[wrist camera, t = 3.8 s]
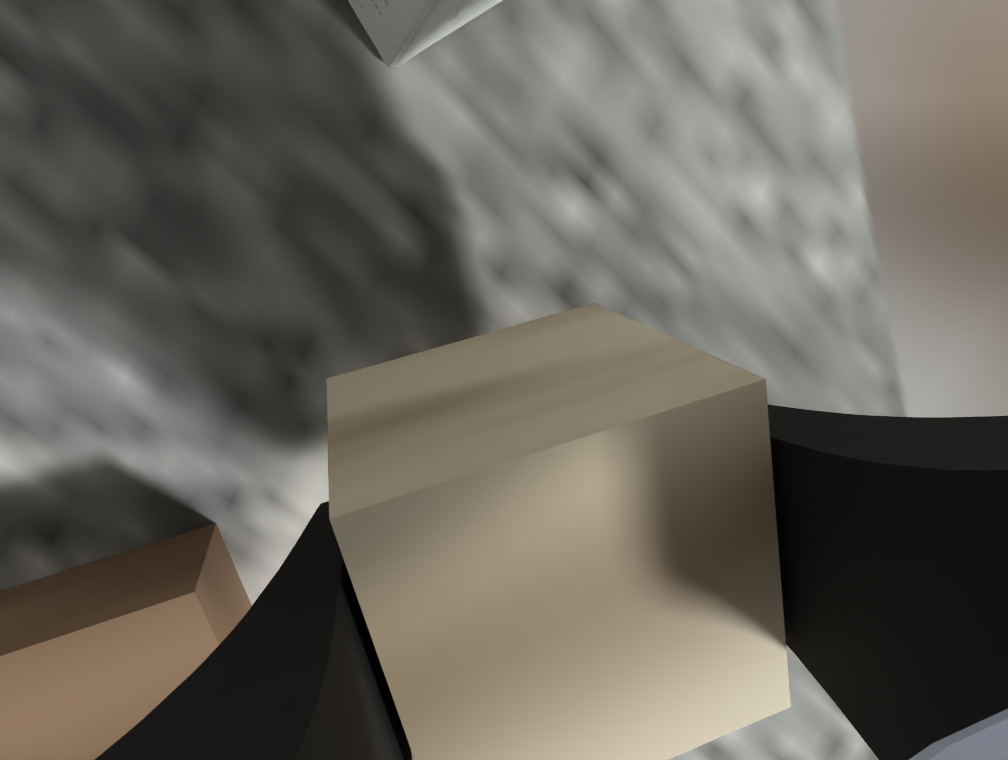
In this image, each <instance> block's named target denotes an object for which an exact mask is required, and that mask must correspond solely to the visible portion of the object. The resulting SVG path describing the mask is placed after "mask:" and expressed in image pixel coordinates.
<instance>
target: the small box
mask: <svg viewBox="0 0 1008 760" xmlns="http://www.w3.org/2000/svg"><path fill="white" fill-rule="evenodd" d="M348 1H349V3H350V5H351V7H352V8H353V10H354V12H355V13H356V15H357V17H358V19H359V20H360V22H361V24H362V25H363V27H364V28H365V30H366V32H367V33H368V35H369V37H370V38H371V40H372V42H373V43H374V45H375V47H376V48H377V50H378V52H379V54H380V55H381V57H382V59H383V61H384V62H385V63H386V65H387V66H388V67H389V68H392V69H394V68H397V67H399V66H400V65H402V64H403V63H405V62H406V61H407V60H409V59H410V58H412V57H413V56H415V55H416V54H418V53H420V52H421V51H423V50H424V49H426V48H427V47H429V46H431V45H432V44H434V43H435V42H437V41H439V40H440V39H442V38H443V37H445V36H447V35H448V34H450V33H452V32H453V31H455V30H456V29H458V28H460V27H461V26H463V25H464V24H466V23H467V22H469V21H470V20H472V19H474V18H475V17H477V16H478V15H480V14H482V13H483V12H485V11H486V10H488V9H490V8H491V7H493V6H494V5H496V4H498V3H499V2H501V1H502V0H348Z"/></svg>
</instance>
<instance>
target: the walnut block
mask: <svg viewBox="0 0 1008 760" xmlns="http://www.w3.org/2000/svg"><path fill="white" fill-rule="evenodd" d="M251 607H252V605H251V603H250V601H249V598H248V596H247V594H246V592H245V589H244V587H243V585H242V582H241V580H240V578H239V575H238V573H237V571H236V569H235V566H234V564H233V562H232V559H231V557H230V555H229V552H228V550H227V548H226V545H225V543H224V541H223V539H222V536H221V534H220V532H219V529H218V527H217V525H216V523H215V524H212V525H209V526H206V527H203V528H199V529H196V530H193V531H190V532H187V533H184V534H180V535H177V536H174V537H171V538H168V539H165V540H161V541H158V542H155V543H152V544H149V545H146V546H142V547H139V548H136V549H133V550H130V551H127V552H123V553H120V554H117V555H114V556H111V557H108V558H104V559H101V560H98V561H95V562H92V563H89V564H85V565H82V566H79V567H76V568H73V569H70V570H66V571H63V572H60V573H57V574H54V575H50V576H47V577H44V578H41V579H38V580H35V581H31V582H28V583H25V584H22V585H19V586H16V587H12V588H9V589H6V590H3V591H0V760H94V759H96V758H97V757H98V756H100V755H101V754H102V753H103V752H104V751H106V750H107V749H108V748H109V747H110V746H112V745H113V744H114V743H115V742H116V741H118V740H119V739H120V738H121V737H122V736H124V735H125V734H126V733H127V732H128V731H130V730H131V729H132V728H133V727H134V726H136V725H137V724H138V723H139V722H140V721H141V720H142V719H143V718H145V717H146V716H147V715H148V714H149V713H150V712H151V711H152V710H153V709H154V708H155V707H156V706H157V705H158V704H160V703H161V702H162V701H163V700H164V699H165V698H166V697H167V696H168V695H169V694H170V693H171V692H172V691H173V690H175V689H176V688H177V687H178V686H179V685H180V684H181V683H182V682H183V681H184V680H185V679H186V678H187V677H189V676H190V675H191V674H192V673H193V672H194V671H195V670H196V669H197V668H198V667H199V666H200V665H201V664H202V663H203V662H204V661H205V660H206V658H207V657H208V656H209V655H210V654H211V653H212V652H213V651H214V650H215V649H216V648H217V647H218V645H219V644H220V643H221V642H222V641H223V640H224V639H225V638H226V637H227V636H228V635H229V633H230V632H231V631H232V630H233V629H234V628H235V626H236V625H237V624H238V623H239V622H240V620H241V619H242V618H243V617H244V616H245V614H246V613H247V612H248V611H249V609H250V608H251Z"/></svg>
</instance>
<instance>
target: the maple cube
mask: <svg viewBox="0 0 1008 760" xmlns="http://www.w3.org/2000/svg"><path fill="white" fill-rule="evenodd" d="M327 427H328V477H329V519H330V522H331V525H332V528H333V531H334V533H335V536H336V539H337V542H338V545H339V548H340V550H341V553H342V556H343V559H344V562H345V564H346V567H347V570H348V573H349V576H350V579H351V581H352V584H353V587H354V590H355V593H356V596H357V598H358V601H359V604H360V607H361V610H362V612H363V615H364V618H365V621H366V624H367V627H368V629H369V632H370V635H371V638H372V641H373V644H374V646H375V649H376V652H377V655H378V658H379V660H380V663H381V666H382V669H383V672H384V675H385V677H386V680H387V683H388V686H389V689H390V692H391V694H392V697H393V700H394V703H395V706H396V708H397V711H398V714H399V717H400V720H401V723H402V725H403V728H404V731H405V734H406V737H407V740H408V742H409V745H410V748H411V751H412V754H413V756H414V759H415V760H668V759H670V758H673V757H675V756H677V755H680V754H682V753H684V752H687V751H689V750H691V749H694V748H696V747H698V746H701V745H703V744H705V743H708V742H710V741H712V740H715V739H717V738H719V737H722V736H724V735H726V734H729V733H731V732H733V731H736V730H738V729H740V728H743V727H745V726H747V725H750V724H752V723H754V722H757V721H759V720H761V719H764V718H766V717H768V716H771V715H773V714H775V713H778V712H780V711H782V710H785V709H787V708H789V707H791V706H790V692H789V679H788V666H787V653H786V640H785V627H784V614H783V601H782V588H781V575H780V562H779V548H778V535H777V522H776V509H775V496H774V483H773V470H772V457H771V444H770V431H769V418H768V404H767V391H766V379H765V378H762V377H760V376H758V375H756V374H753V373H751V372H749V371H747V370H744V369H742V368H740V367H738V366H735V365H733V364H731V363H729V362H726V361H724V360H722V359H720V358H717V357H715V356H713V355H711V354H708V353H706V352H704V351H702V350H699V349H697V348H695V347H693V346H690V345H688V344H686V343H683V342H681V341H679V340H677V339H674V338H672V337H670V336H668V335H665V334H663V333H661V332H659V331H656V330H654V329H652V328H650V327H647V326H645V325H643V324H641V323H638V322H636V321H634V320H632V319H629V318H627V317H625V316H623V315H620V314H618V313H616V312H614V311H611V310H609V309H607V308H605V307H602V306H600V305H598V304H596V303H593V304H589V305H586V306H582V307H579V308H575V309H572V310H568V311H564V312H561V313H557V314H554V315H550V316H547V317H543V318H540V319H536V320H532V321H529V322H525V323H522V324H518V325H515V326H511V327H508V328H504V329H500V330H497V331H493V332H490V333H486V334H483V335H479V336H476V337H472V338H468V339H465V340H461V341H458V342H454V343H451V344H447V345H444V346H440V347H436V348H433V349H429V350H426V351H422V352H419V353H415V354H412V355H408V356H404V357H401V358H397V359H394V360H390V361H387V362H383V363H380V364H376V365H372V366H369V367H365V368H362V369H358V370H355V371H351V372H347V373H344V374H340V375H337V376H333V377H330V378H327Z"/></svg>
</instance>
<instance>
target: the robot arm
mask: <svg viewBox="0 0 1008 760" xmlns="http://www.w3.org/2000/svg"><path fill="white" fill-rule="evenodd" d="M768 418H769V431H770V444H771V457H772V470H773V483H774V496H775V509H776V522H777V535H778V548H779V562H780V575H781V588H782V601H783V614H784V627H785V640H786V645H787V646H788V647H789V648H790V649H791V650H792V651H793V652H794V653H795V654H796V656H797V657H798V658H799V659H800V661H801V662H802V663H803V664H804V665H805V667H806V668H807V669H808V670H809V672H810V673H811V674H812V675H813V676H814V678H815V679H816V680H817V681H818V683H819V684H820V685H821V686H822V687H823V689H824V690H825V691H826V692H827V694H828V695H829V696H830V697H831V698H832V700H833V701H834V702H835V703H836V705H837V706H838V707H839V708H840V710H841V711H842V712H843V714H844V715H845V716H846V717H847V719H848V720H849V721H850V723H851V724H852V725H853V727H854V728H855V729H856V730H857V732H858V733H859V734H860V736H861V737H862V738H863V739H864V741H865V742H866V743H867V745H868V746H869V747H870V748H871V750H872V751H873V752H874V754H875V755H876V756H877V757H878V759H879V760H1008V416H991V417H952V418H915V417H913V418H912V417H890V416H867V415H853V414H841V413H832V412H822V411H813V410H804V409H796V408H789V407H781V406H774V405H768ZM94 760H412V756H411V748H410V745H409V742H408V740H407V737H406V734H405V731H404V728H403V725H402V723H401V720H400V717H399V714H398V711H397V708H396V706H395V703H394V700H393V697H392V694H391V692H390V689H389V686H388V683H387V680H386V677H385V675H384V672H383V669H382V666H381V663H380V660H379V658H378V655H377V652H376V649H375V646H374V644H373V641H372V638H371V635H370V632H369V629H368V627H367V624H366V621H365V618H364V615H363V612H362V610H361V607H360V604H359V601H358V598H357V596H356V593H355V590H354V587H353V584H352V581H351V579H350V576H349V573H348V570H347V567H346V564H345V562H344V559H343V556H342V553H341V550H340V548H339V545H338V542H337V539H336V536H335V533H334V531H333V528H332V525H331V522H330V519H329V501H328V502H325V503H322V504H320V506H319V507H318V509H317V510H316V512H315V513H314V515H313V517H312V518H311V520H310V521H309V523H308V525H307V526H306V528H305V530H304V531H303V533H302V534H301V536H300V538H299V539H298V541H297V543H296V544H295V546H294V547H293V549H292V550H291V552H290V553H289V555H288V557H287V558H286V560H285V561H284V563H283V564H282V566H281V567H280V569H279V570H278V572H277V573H276V574H275V576H274V577H273V578H272V580H271V581H270V582H269V584H268V585H267V586H266V588H265V589H264V590H263V592H262V593H261V594H260V596H259V597H258V599H257V600H256V601H255V603H254V604H253V605H252V607H251V608H250V609H249V611H248V612H247V613H246V614H245V616H244V617H243V618H242V619H241V620H240V622H239V623H238V624H237V625H236V626H235V628H234V629H233V630H232V631H231V632H230V633H229V635H228V636H227V637H226V638H225V639H224V640H223V641H222V642H221V643H220V644H219V645H218V647H217V648H216V649H215V650H214V651H213V652H212V653H211V654H210V655H209V656H208V657H207V658H206V660H205V661H204V662H203V663H202V664H201V665H200V666H199V667H198V668H197V669H196V670H195V671H194V672H193V673H192V674H191V675H190V676H189V677H187V678H186V679H185V680H184V681H183V682H182V683H181V684H180V685H179V686H178V687H177V688H176V689H175V690H173V691H172V692H171V693H170V694H169V695H168V696H167V697H166V698H165V699H164V700H163V701H162V702H161V703H160V704H158V705H157V706H156V707H155V708H154V709H153V710H152V711H151V712H150V713H149V714H148V715H147V716H146V717H145V718H143V719H142V720H141V721H140V722H139V723H138V724H137V725H136V726H134V727H133V728H132V729H131V730H130V731H128V732H127V733H126V734H125V735H124V736H122V737H121V738H120V739H119V740H118V741H116V742H115V743H114V744H113V745H112V746H110V747H109V748H108V749H107V750H106V751H104V752H103V753H102V754H101V755H100V756H98V757H97V758H96V759H94Z"/></svg>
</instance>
